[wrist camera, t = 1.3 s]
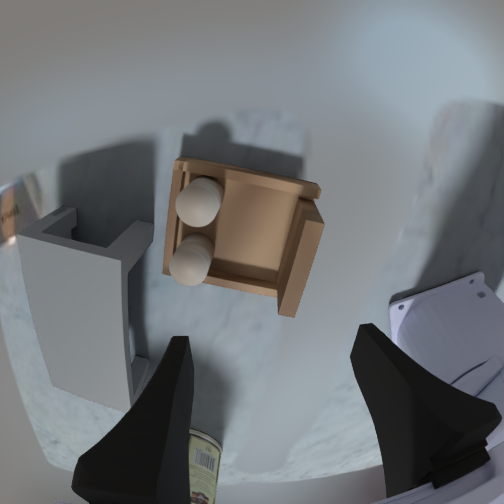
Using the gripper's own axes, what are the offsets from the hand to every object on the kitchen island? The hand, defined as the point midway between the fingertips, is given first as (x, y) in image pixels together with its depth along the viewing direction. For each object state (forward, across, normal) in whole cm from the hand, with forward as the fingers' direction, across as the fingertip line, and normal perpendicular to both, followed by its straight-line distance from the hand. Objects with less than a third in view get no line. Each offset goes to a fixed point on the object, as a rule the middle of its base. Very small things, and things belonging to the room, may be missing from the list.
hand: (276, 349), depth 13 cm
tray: (+11, +1, -1) cm, 11 cm away
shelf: (+12, +12, +6) cm, 18 cm away
